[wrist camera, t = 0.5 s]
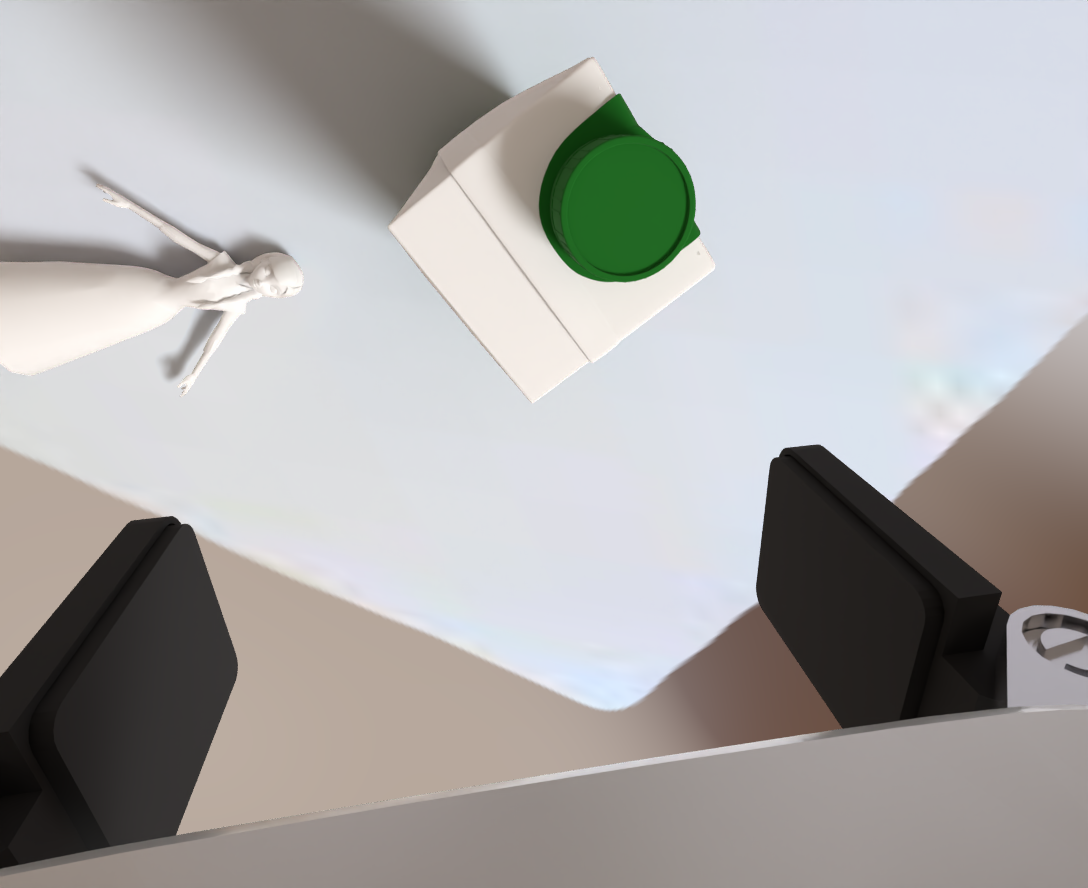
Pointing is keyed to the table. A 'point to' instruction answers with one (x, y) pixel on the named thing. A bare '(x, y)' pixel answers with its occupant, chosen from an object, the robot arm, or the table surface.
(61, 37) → the table surface
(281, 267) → the woman figurine
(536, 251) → the milk carton
